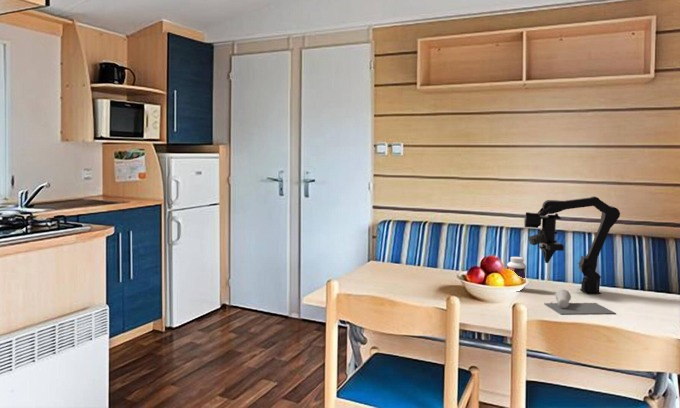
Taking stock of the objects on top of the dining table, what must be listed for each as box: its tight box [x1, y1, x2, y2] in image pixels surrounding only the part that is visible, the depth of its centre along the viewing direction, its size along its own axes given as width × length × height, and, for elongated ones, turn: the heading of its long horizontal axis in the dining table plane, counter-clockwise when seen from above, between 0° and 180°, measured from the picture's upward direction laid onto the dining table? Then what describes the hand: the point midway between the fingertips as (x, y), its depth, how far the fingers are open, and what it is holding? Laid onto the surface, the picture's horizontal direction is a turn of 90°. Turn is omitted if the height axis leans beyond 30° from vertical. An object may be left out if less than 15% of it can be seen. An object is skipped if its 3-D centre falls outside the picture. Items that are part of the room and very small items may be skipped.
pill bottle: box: [506, 256, 527, 291], centre depth 245 cm, size 8×8×14 cm
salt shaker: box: [555, 289, 572, 309], centre depth 220 cm, size 6×6×13 cm
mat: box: [543, 302, 617, 316], centre depth 216 cm, size 22×14×1 cm, turn 95°
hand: (546, 262), depth 246 cm, fingers closed
